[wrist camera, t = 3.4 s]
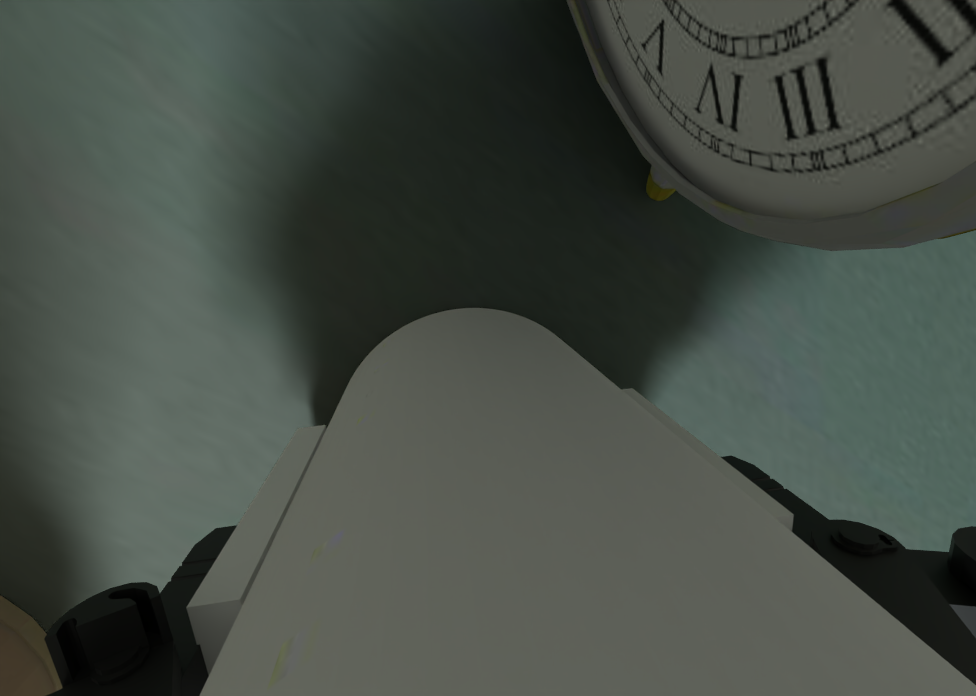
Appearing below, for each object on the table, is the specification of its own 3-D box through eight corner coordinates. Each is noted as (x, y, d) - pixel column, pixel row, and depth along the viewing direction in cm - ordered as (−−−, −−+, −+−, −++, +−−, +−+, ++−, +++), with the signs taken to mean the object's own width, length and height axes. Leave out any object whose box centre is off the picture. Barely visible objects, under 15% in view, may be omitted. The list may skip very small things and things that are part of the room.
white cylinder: (293, 506, 15) (-177, 1523, 3) (403, 259, 13) (270, 480, 2) (528, 584, 16) (772, 1420, 5) (645, 374, 15) (1357, 851, 4)
